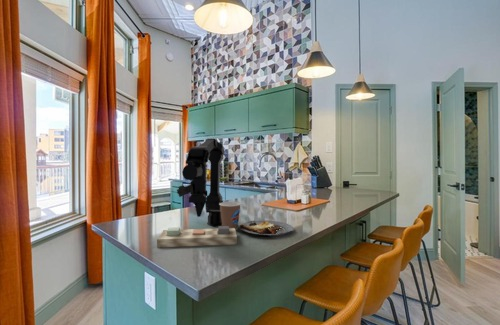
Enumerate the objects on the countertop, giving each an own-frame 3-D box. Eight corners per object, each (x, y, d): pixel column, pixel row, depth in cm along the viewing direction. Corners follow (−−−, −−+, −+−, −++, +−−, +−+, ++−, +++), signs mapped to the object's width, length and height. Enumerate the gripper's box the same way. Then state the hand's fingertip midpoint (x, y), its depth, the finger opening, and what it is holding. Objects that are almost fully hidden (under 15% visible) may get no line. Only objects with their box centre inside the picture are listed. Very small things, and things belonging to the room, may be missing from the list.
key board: (234, 234, 110) (234, 228, 110) (236, 244, 98) (236, 236, 98) (163, 237, 106) (163, 230, 106) (156, 247, 94) (156, 239, 94)
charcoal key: (228, 234, 106) (228, 226, 106) (229, 237, 101) (229, 228, 101) (218, 234, 105) (218, 226, 105) (218, 237, 101) (218, 229, 101)
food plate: (264, 242, 100) (264, 233, 100) (229, 230, 117) (229, 222, 117) (302, 232, 117) (302, 224, 117) (266, 223, 134) (266, 216, 134)
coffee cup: (234, 232, 113) (234, 206, 113) (214, 229, 117) (215, 204, 117) (244, 227, 122) (244, 202, 122) (226, 224, 127) (226, 200, 126)
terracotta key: (204, 238, 105) (204, 229, 104) (204, 241, 100) (204, 232, 100) (193, 238, 104) (193, 230, 104) (192, 241, 100) (192, 233, 100)
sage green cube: (179, 235, 103) (179, 227, 103) (178, 239, 99) (178, 230, 99) (168, 236, 103) (168, 227, 103) (166, 239, 98) (166, 230, 98)
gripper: (181, 176, 110) (181, 212, 110) (174, 180, 91) (174, 223, 92) (207, 176, 111) (207, 211, 111) (205, 180, 93) (205, 222, 93)
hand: (198, 216), depth 102 cm, fingers closed
